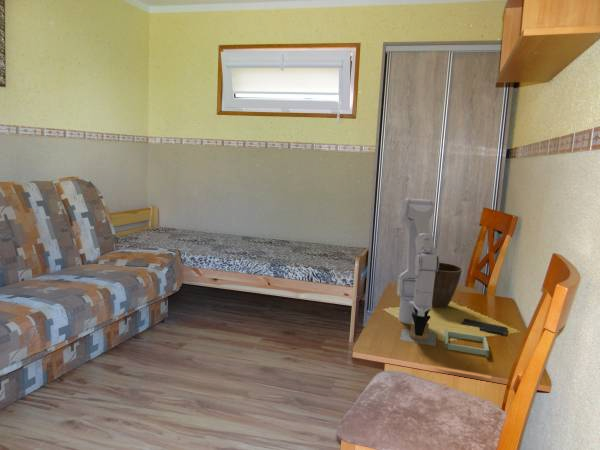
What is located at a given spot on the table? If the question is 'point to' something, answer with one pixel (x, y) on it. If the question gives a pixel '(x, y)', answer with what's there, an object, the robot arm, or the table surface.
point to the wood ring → (412, 335)
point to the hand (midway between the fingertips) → (419, 331)
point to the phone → (486, 327)
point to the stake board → (430, 340)
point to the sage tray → (466, 348)
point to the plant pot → (445, 284)
